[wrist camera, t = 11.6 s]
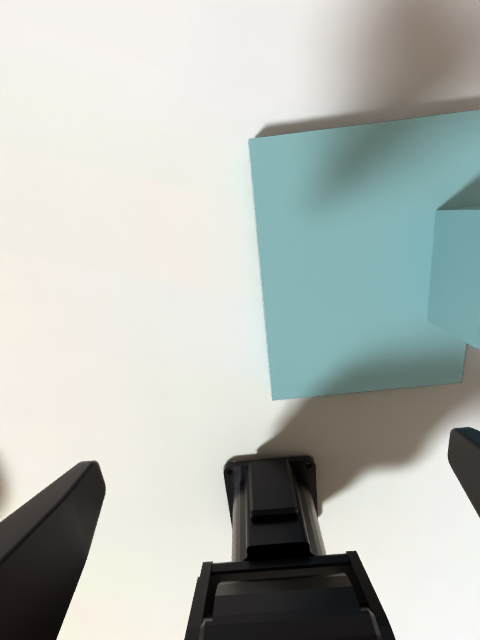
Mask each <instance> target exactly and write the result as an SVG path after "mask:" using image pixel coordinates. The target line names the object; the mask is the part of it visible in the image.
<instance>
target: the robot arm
mask: <svg viewBox="0 0 480 640" xmlns="http://www.w3.org/2000/svg"><path fill="white" fill-rule="evenodd" d="M448 461H449V464H450V466H451V468H452V469H453V471H454V473H455V475H456V477H457V478H458V480H459V482H460V484H461V485H462V487H463V489H464V491H465V493H466V494H467V496H468V498H469V500H470V501H471V503H472V505H473V507H474V509H475V510H476V512H477V514H478V516H479V517H480V431H478V430H476V429H473V428H470V427H463V428H454V429H452V430H451V432H450V439H449V447H448ZM306 463H310V464H306ZM229 470H233V471H229ZM224 479H225V486H226V492H227V498H228V505H229V511H230V517H231V523H232V562H224V563H213V561H212V562H203V565H202V569H201V574H200V577H198V579H197V584H196V588H195V593H194V597H193V602H192V607H191V611H190V616H189V620H188V625H187V630H186V634H185V639H184V640H395V637H394V634H393V631H392V628H391V626H390V623H389V621H388V619H387V616H386V614H385V612H384V610H383V608H382V605H381V603H380V601H379V599H378V597H377V595H376V592H375V590H374V588H373V586H372V584H371V582H370V580H369V577H368V575H367V573H366V571H365V569H364V567H363V565H362V562H361V560H360V558H359V556H358V554H357V552H356V551H346V553H345V554H331V555H326V551H325V547H324V543H323V539H322V535H321V531H320V527H319V523H318V513H317V490H316V466H315V462H314V459H313V458H312V457H311V456H299V457H288V458H276V459H265V460H253V461H242V462H230V463H227V464H225V466H224ZM105 491H106V486H105V482H104V479H103V475H102V472H101V469H100V466H99V463H98V462H97V461H94V460H93V461H83V462H80V463H78V464H77V465H75V466H74V467H73V468H71V469H70V470H69V471H67V472H66V473H65V474H63V475H62V476H61V477H59V478H58V479H57V480H55V481H54V482H53V483H52V484H50V485H49V486H48V487H46V488H45V489H44V490H42V491H41V492H40V493H38V494H37V495H36V496H34V497H33V498H32V499H30V500H29V501H28V502H26V503H25V504H24V505H22V506H21V507H20V508H19V509H17V510H16V511H15V512H13V513H12V514H11V515H9V516H8V517H7V518H5V519H4V520H3V521H1V522H0V640H56V639H57V636H58V634H59V631H60V628H61V626H62V623H63V620H64V618H65V615H66V613H67V610H68V607H69V605H70V602H71V600H72V597H73V594H74V592H75V589H76V586H77V584H78V581H79V579H80V576H81V573H82V571H83V568H84V565H85V562H86V560H87V556H88V553H89V550H90V546H91V543H92V539H93V536H94V532H95V529H96V525H97V522H98V518H99V514H100V511H101V507H102V504H103V500H104V497H105Z"/></svg>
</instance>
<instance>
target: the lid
mask: <svg viewBox="0 0 480 640" xmlns="http://www.w3.org/2000/svg"><path fill="white" fill-rule="evenodd" d="M248 144H249V155H250V166H251V177H252V188H253V199H254V210H255V221H256V232H257V242H258V253H259V264H260V275H261V286H262V297H263V308H264V319H265V330H266V340H267V351H268V362H269V373H270V384H271V394H272V400H282V399H293V398H303V397H314V396H325V395H335V394H346V393H356V392H367V391H377V390H388V389H398V388H409V387H420V386H430V385H441V384H451V383H462V375H463V367H464V359H465V351H466V343H467V344H468V345H470V346H472V347H473V348H475V349H478V348H480V110H473V111H465V112H457V113H449V114H441V115H433V116H425V117H417V118H410V119H402V120H394V121H386V122H378V123H370V124H362V125H354V126H346V127H338V128H331V129H323V130H315V131H307V132H299V133H291V134H283V135H275V136H267V137H259V138H252V139H249V140H248Z"/></svg>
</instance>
